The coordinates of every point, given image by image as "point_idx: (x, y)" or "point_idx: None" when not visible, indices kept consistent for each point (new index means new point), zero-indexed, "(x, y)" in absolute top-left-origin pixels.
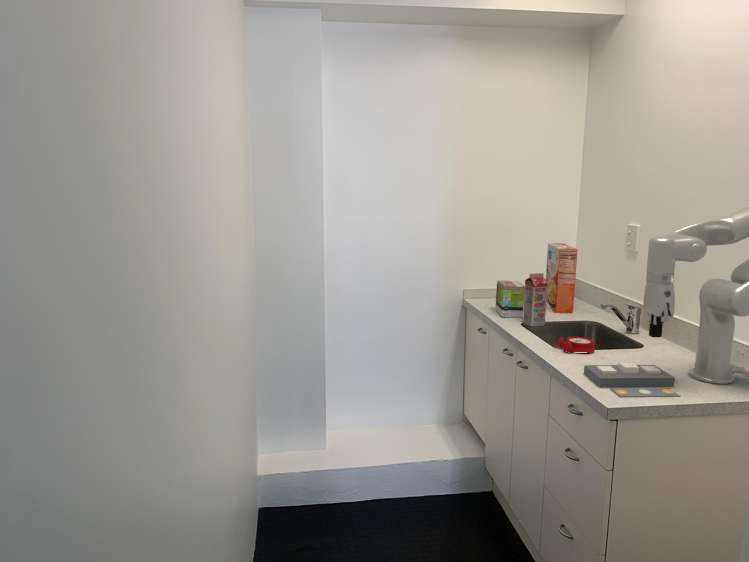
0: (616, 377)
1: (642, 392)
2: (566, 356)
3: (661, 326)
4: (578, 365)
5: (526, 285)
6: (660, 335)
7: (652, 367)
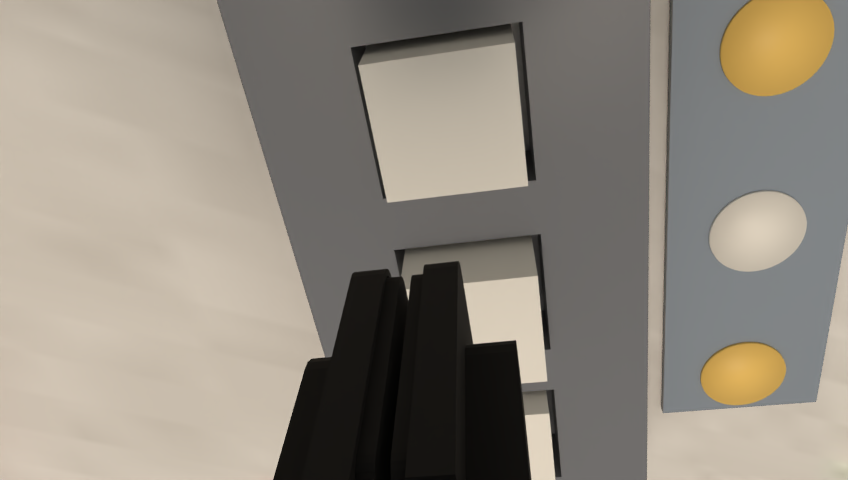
0: (633, 418)
1: (777, 256)
2: (23, 468)
3: (461, 446)
4: (200, 450)
5: None
6: (463, 294)
7: (415, 99)
